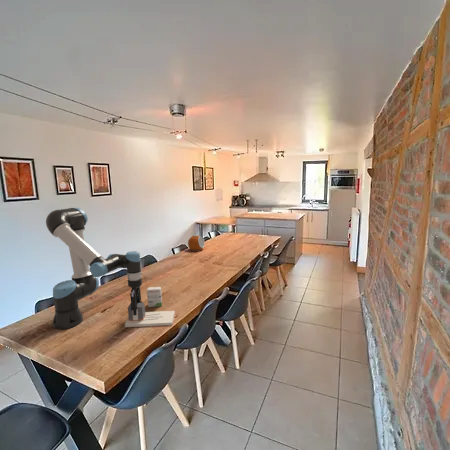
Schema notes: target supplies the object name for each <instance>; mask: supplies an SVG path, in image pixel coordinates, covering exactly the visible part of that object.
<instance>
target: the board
mask: <svg viewBox="0 0 450 450" xmlns="http://www.w3.org/2000/svg"><path fill="white" fill-rule="evenodd" d="M175 314H176V311H175V310H165V311H164V310H162V311H161V310H160V311H145V317H144V319H143V320H138V321H129V318H127V320H126V321H125V323H124V328H137V327H159V326H173V323H174V319H175Z"/></svg>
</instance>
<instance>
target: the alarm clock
mask: <svg viewBox="0 0 450 450" xmlns="http://www.w3.org/2000/svg"><path fill="white" fill-rule="evenodd" d="M187 245H188V248H189V250H190V251H192V252H200V251H202V250H203V248H204V247H205V239H204V238H203V237H202V236H200V235H198V234H194V235H192V236H191V237H189V239H188V240H187Z"/></svg>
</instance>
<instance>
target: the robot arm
mask: <svg viewBox="0 0 450 450" xmlns="http://www.w3.org/2000/svg"><path fill="white" fill-rule="evenodd" d="M87 223H88V215H87V213H86V212H85V210H83V209H81V208H79V207H69V208H61V209H55V210H53V211H50V213H48V215H47V216H46V219H45V224H46V228H47V230H48V231H49V233H50V234H51V235H52V236H53V237H55V238H58V239H60V241H62V242H63V243H64V244H65V245H66V246H67V247H68V250H69V255H70V259H71V265H72V266H71V267H72V271H73V273H72V276H71V279H69V280H64V281H61V282H59V283H56V284H55V285H54V287H53V288H52V299H53V305H54V316H53V319H52V327H53V328H54V329H57V330H66V329H71V328H74V327H76V326H79V325H80V324H81V323H82V322H83V321H84V315H83V313H82V312H81V309H80V307H79V301H81V300H82V299H84V298H86V297H88V296H90V295H92V294H94V293H95V292H96V291H97V290H98V289H99V286H100V282H99V278H100V277H103V276H105V275H107V274H109V273H111V272H114V271H116V270H118V269H126V276H127V286H128V287H129V288H131V290H130V294H129V296H130V303H131V310H132V311H133V320H138V309H137V303H143V302H142V294H141V286H142V284H143V281H142V280H143V279H142V275H143V273H142V269H141V268H142V267H141V266H142V265H141V264H142V263H141V261H142V260H141V259H142V258H141V254H140V252H139V251H137V250H136V251H135V250H134V251H133V250H132V251H131V250H130V251H128V252H126V254H120V253H119V254H118V253H111V254H109V255H108V256H107V258H104V257H103V256H102V255H101V254H100V253H98V252H97V251H96V250H95V249H94V248H93V247H92V246H91V245H90V244H89V243H88V242H86V240H85V238H84V231H85V229H86V227H85V226H86V225H87Z"/></svg>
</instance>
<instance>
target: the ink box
mask: <svg viewBox="0 0 450 450" xmlns="http://www.w3.org/2000/svg"><path fill="white" fill-rule="evenodd" d="M162 295H163V294H162V287H161V286H154V287H152V286H150V287H147V290H146V297H147V307H148V308H155V307H162V305H163V296H162Z"/></svg>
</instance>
